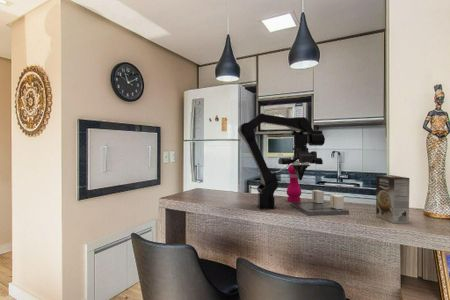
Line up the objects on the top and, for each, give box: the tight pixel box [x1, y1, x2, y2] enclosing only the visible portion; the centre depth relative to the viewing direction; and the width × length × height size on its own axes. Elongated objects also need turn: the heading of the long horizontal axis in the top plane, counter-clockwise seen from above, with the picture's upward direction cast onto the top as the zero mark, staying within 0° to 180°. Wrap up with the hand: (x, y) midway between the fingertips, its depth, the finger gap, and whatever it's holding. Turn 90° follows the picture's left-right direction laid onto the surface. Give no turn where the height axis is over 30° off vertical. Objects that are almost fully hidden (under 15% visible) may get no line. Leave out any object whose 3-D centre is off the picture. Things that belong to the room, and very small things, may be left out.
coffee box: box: [375, 174, 411, 224], centre depth 93 cm, size 9×6×16 cm
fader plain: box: [311, 189, 325, 203], centre depth 116 cm, size 3×5×5 cm, turn 7°
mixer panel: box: [289, 200, 350, 217], centre depth 109 cm, size 17×20×2 cm
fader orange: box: [329, 193, 345, 209], centre depth 104 cm, size 3×5×5 cm, turn 7°
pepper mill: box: [286, 164, 302, 203], centre depth 126 cm, size 7×7×20 cm
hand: (300, 180), depth 113 cm, fingers closed
